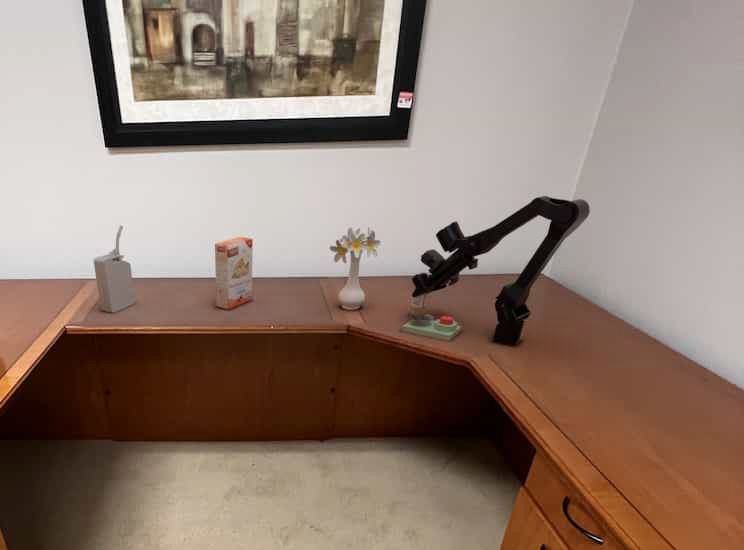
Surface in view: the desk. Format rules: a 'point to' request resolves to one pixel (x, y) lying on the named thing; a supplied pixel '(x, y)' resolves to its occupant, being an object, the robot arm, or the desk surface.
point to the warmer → (432, 329)
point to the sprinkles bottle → (419, 302)
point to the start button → (446, 320)
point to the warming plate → (421, 317)
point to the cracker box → (233, 272)
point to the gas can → (114, 280)
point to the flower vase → (354, 264)
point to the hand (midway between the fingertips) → (416, 294)
